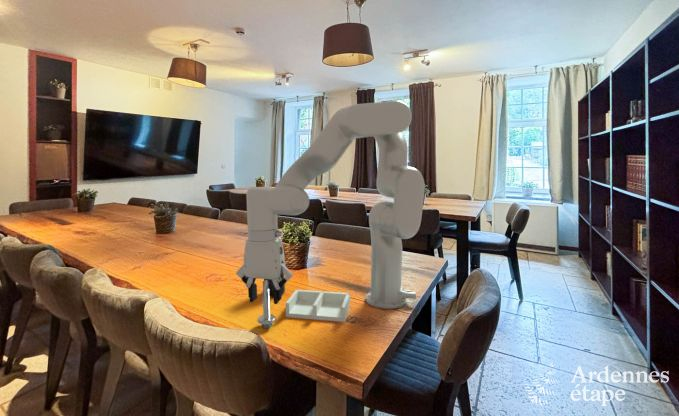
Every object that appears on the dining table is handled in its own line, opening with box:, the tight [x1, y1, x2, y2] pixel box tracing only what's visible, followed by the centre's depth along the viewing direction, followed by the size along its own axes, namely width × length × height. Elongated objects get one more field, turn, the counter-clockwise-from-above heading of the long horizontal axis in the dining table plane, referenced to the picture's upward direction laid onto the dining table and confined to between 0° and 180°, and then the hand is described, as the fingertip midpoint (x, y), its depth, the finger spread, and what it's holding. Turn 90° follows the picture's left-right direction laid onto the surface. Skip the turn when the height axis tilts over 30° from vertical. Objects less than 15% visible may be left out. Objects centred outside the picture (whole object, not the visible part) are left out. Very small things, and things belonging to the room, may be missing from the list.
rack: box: [285, 289, 351, 323], centre depth 98 cm, size 17×10×4 cm, turn 80°
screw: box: [256, 279, 277, 329], centre depth 89 cm, size 13×5×5 cm
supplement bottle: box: [263, 274, 286, 297], centre depth 111 cm, size 7×7×12 cm
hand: (265, 300), depth 89 cm, fingers open, 6 cm apart
